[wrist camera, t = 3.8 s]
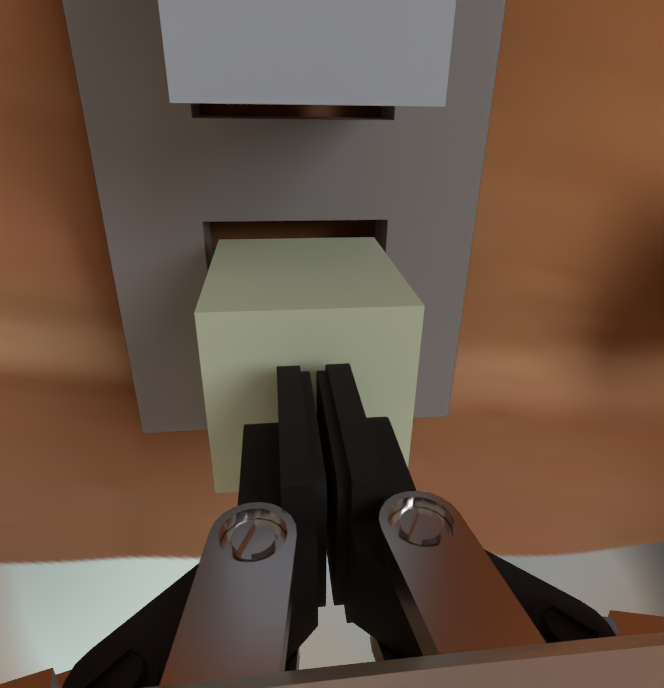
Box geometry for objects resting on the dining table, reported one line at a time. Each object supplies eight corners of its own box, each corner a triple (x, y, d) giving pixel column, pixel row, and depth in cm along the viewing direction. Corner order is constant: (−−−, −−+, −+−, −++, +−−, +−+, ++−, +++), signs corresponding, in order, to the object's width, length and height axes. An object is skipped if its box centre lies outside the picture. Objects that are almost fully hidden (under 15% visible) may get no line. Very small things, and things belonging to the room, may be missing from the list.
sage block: (218, 239, 16) (194, 312, 11) (374, 236, 17) (424, 305, 11) (230, 376, 18) (215, 493, 13) (366, 370, 19) (406, 480, 13)
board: (-83, -988, 9) (-176, -1273, 7) (582, -835, 10) (651, -1041, 8) (153, 404, 21) (142, 433, 19) (433, 390, 22) (447, 416, 20)
